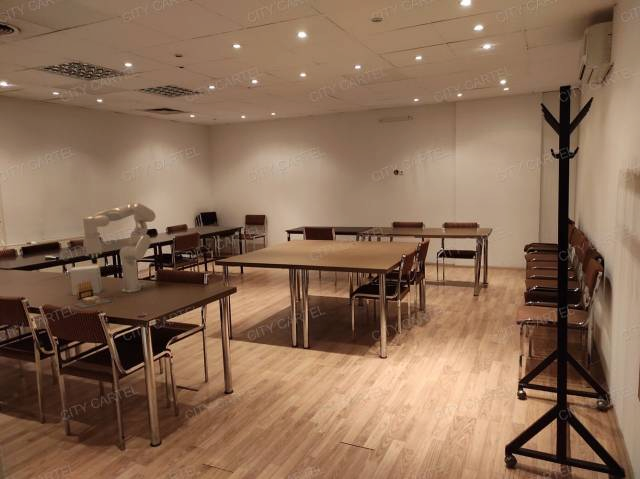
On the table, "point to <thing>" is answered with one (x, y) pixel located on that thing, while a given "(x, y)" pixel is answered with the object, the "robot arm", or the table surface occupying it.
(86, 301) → the birch tile
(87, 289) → the ammunition clip
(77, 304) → the rubber mat
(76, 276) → the supplement box
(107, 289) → the table surface
